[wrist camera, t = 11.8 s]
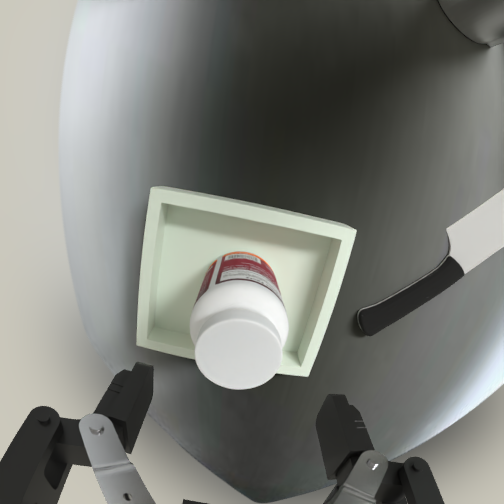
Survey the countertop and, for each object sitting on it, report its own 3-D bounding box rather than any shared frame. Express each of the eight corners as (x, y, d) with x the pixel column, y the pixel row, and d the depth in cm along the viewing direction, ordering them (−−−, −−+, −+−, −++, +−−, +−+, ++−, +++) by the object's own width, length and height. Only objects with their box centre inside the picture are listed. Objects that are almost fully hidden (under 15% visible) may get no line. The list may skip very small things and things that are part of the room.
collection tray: (344, 223, 25) (356, 230, 22) (302, 358, 28) (308, 376, 25) (162, 185, 24) (151, 187, 21) (145, 329, 27) (136, 345, 24)
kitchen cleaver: (529, 156, 22) (545, 227, 23) (520, 157, 24) (537, 226, 25) (336, 263, 25) (370, 351, 26) (332, 260, 27) (365, 344, 28)
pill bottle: (232, 327, 26) (225, 413, 16) (190, 275, 25) (154, 343, 14) (290, 291, 25) (316, 367, 15) (250, 234, 24) (253, 282, 13)
